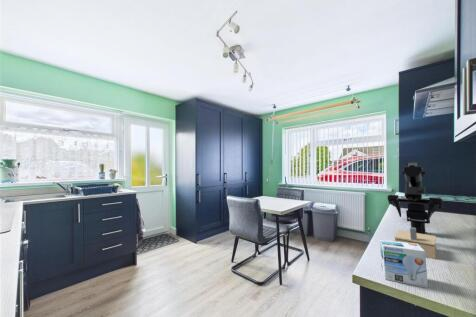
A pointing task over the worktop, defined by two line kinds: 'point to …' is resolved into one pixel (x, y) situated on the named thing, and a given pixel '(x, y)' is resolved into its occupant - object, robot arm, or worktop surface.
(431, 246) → the wooden box
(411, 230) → the sliding lid
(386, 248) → the light bulb box
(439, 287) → the worktop surface
